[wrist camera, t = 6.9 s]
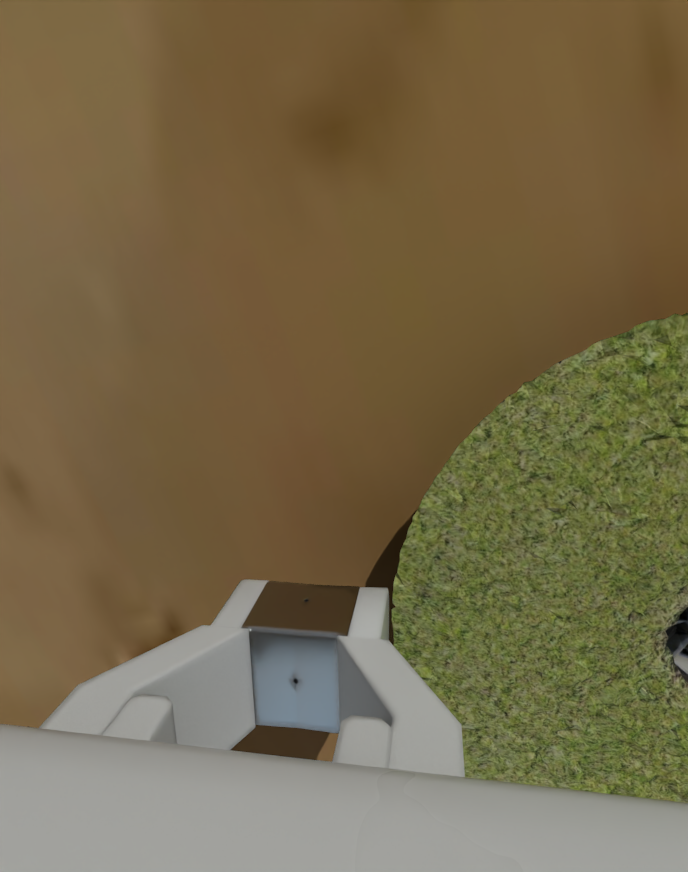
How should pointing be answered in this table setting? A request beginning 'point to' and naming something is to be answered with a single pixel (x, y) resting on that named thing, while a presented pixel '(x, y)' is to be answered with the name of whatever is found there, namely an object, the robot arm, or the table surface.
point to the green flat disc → (564, 575)
